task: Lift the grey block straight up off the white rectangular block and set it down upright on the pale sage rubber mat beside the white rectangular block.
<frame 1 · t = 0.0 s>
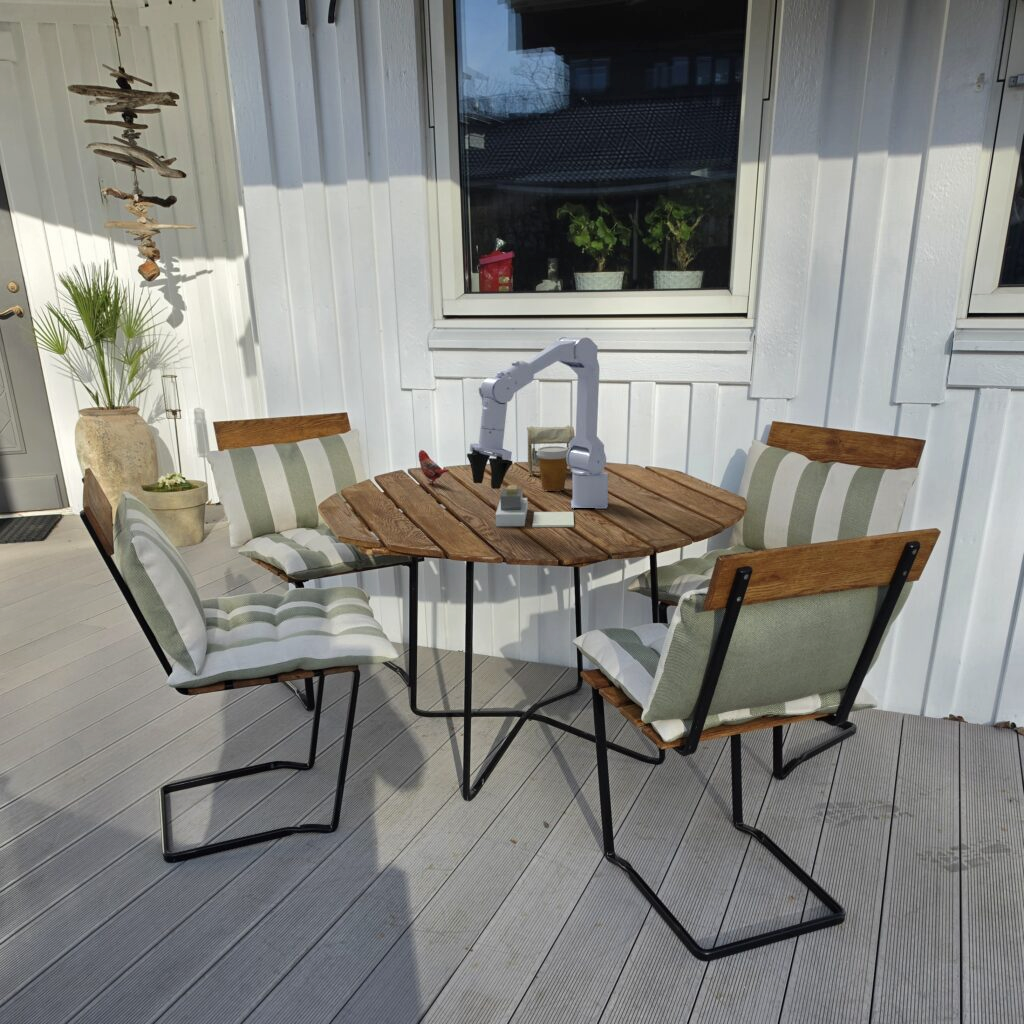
hand: (486, 485, 179), 11 cm above the table, tool pointing down, fingers open, 7 cm apart
swing bench: (551, 473, 240), on the table
disposable coffee cup: (553, 490, 218), on the table
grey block: (511, 505, 190), point 3 cm above the table, touching white rectangular block
white rectangular block: (512, 517, 190), on the table
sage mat: (553, 520, 187), on the table
decorative bird figurine: (434, 486, 227), on the table
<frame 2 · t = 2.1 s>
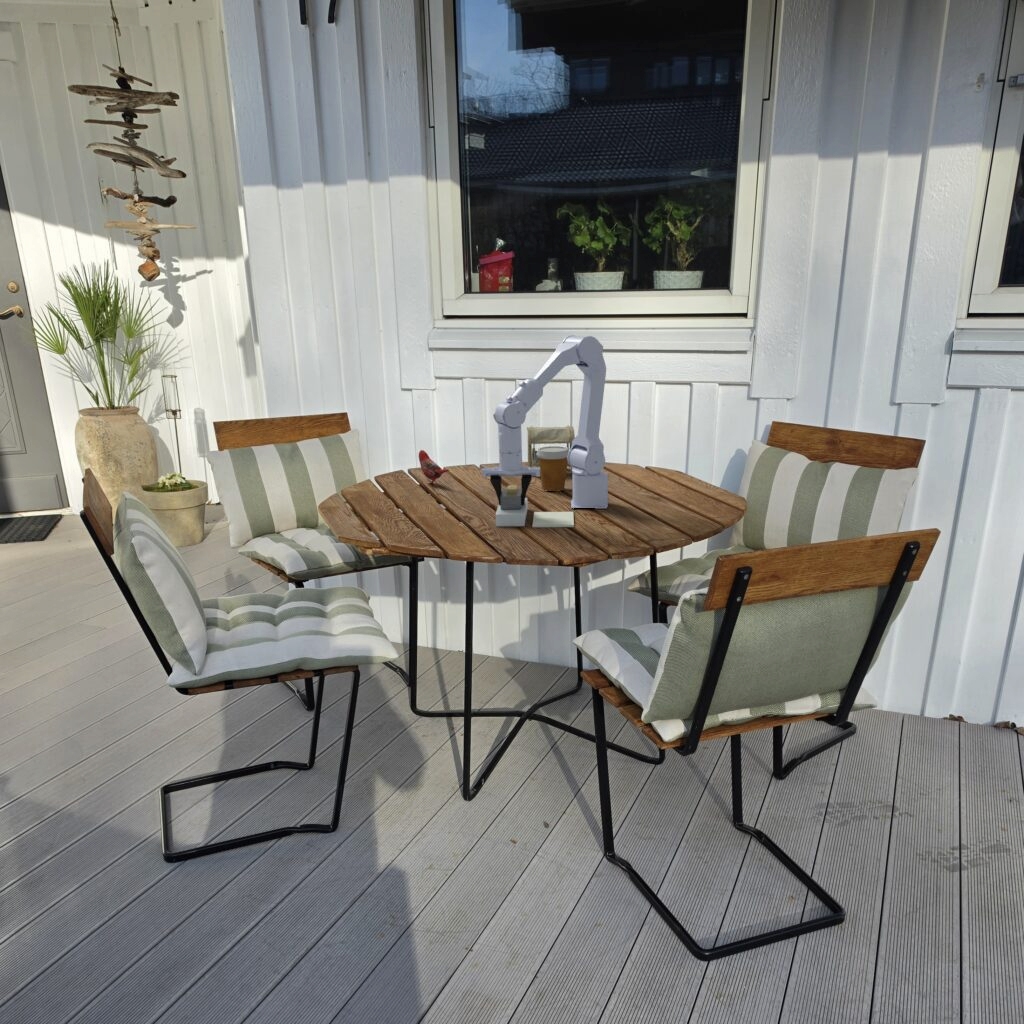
hand: (511, 504, 189), 3 cm above the table, tool pointing down, fingers closed on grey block, 5 cm apart
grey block: (511, 505, 190), point 3 cm above the table, touching gripper, white rectangular block
everything else where it was.
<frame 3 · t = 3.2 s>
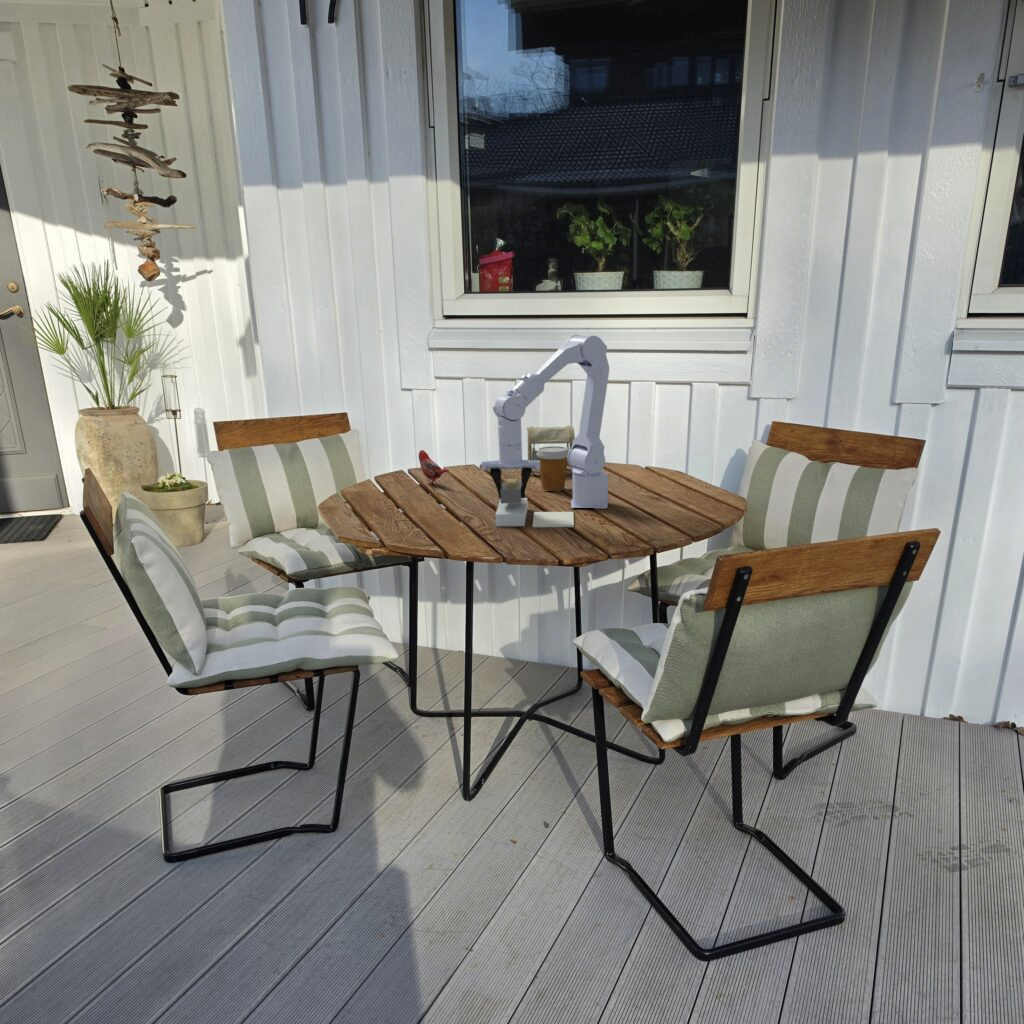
hand: (511, 497, 189), 5 cm above the table, tool pointing down, fingers closed on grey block, 5 cm apart
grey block: (512, 499, 189), point 5 cm above the table, touching gripper
everything else where it was.
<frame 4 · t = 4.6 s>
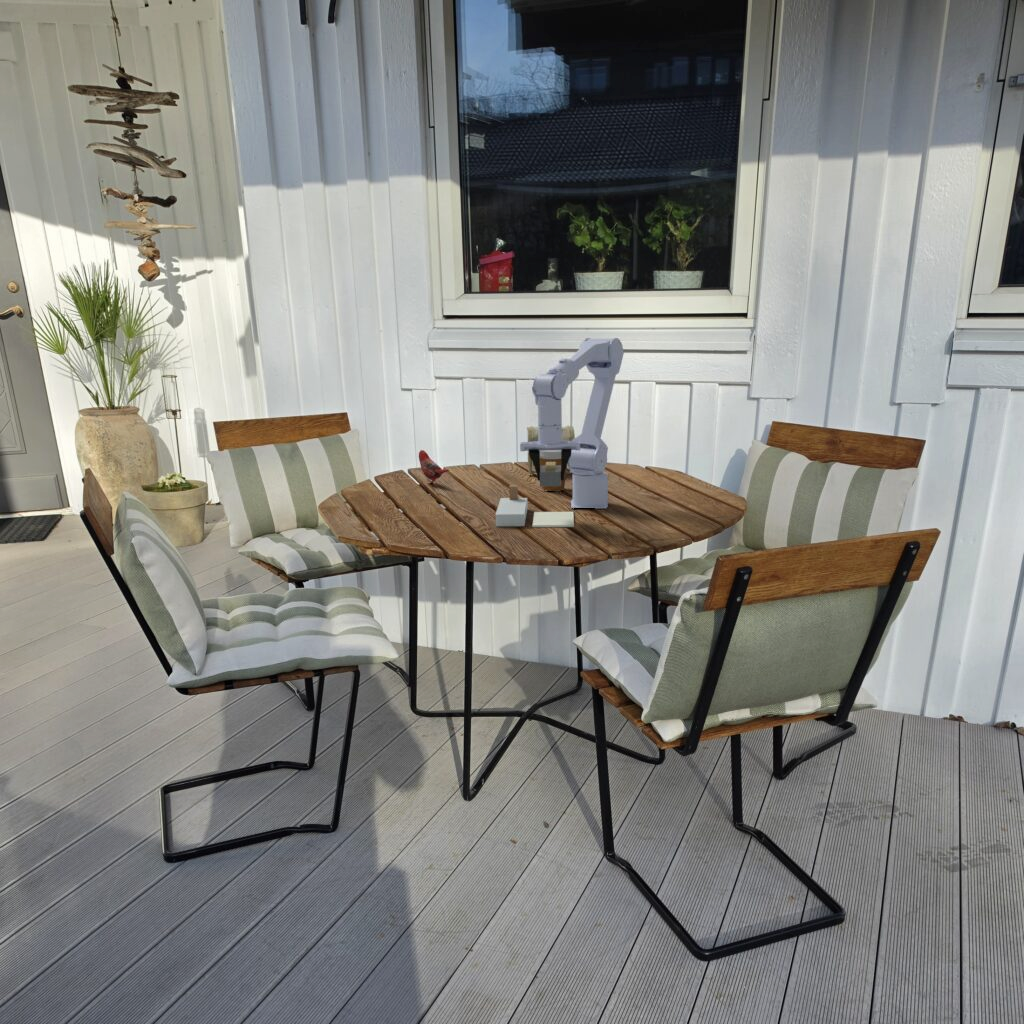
hand: (550, 479, 184), 10 cm above the table, tool pointing down, fingers closed on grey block, 5 cm apart
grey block: (550, 482, 185), point 10 cm above the table, touching gripper
everything else where it was.
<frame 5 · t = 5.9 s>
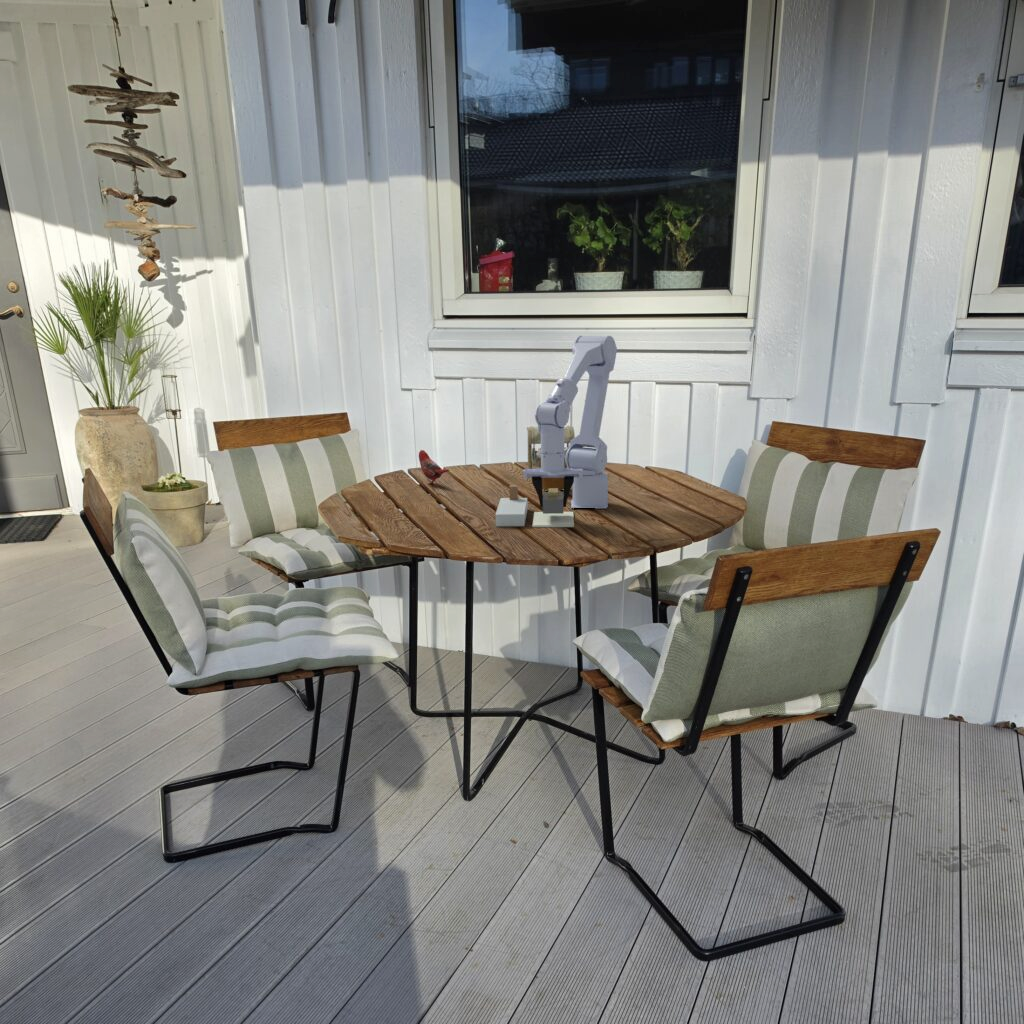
hand: (553, 506, 186), 4 cm above the table, tool pointing down, fingers closed on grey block, 5 cm apart
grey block: (553, 509, 186), point 3 cm above the table, touching gripper
everything else where it was.
when the fingers open (2 cm above the table, at t = 6.8 s): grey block stays where it is, resting on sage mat.
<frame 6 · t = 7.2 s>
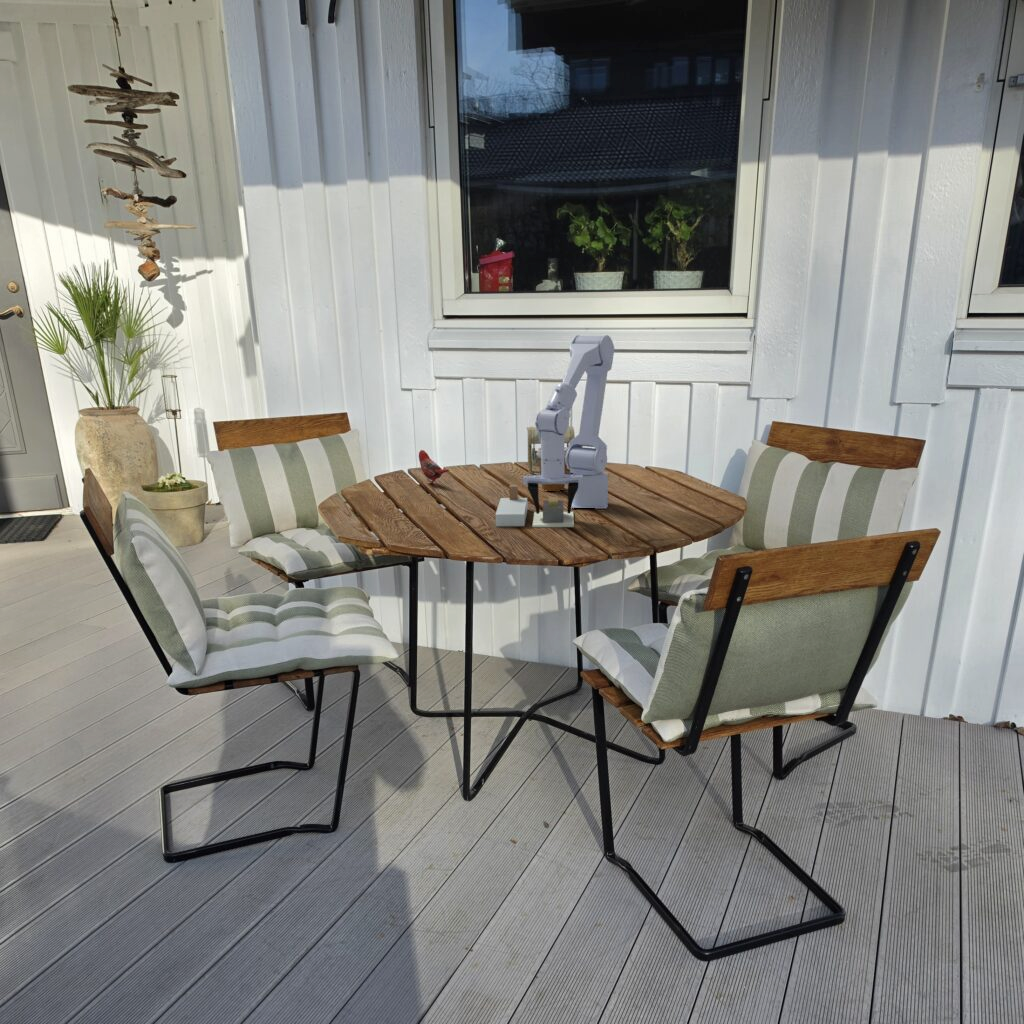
hand: (553, 512, 186), 2 cm above the table, tool pointing down, fingers open, 7 cm apart
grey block: (553, 518, 187), resting on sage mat
everything else where it was.
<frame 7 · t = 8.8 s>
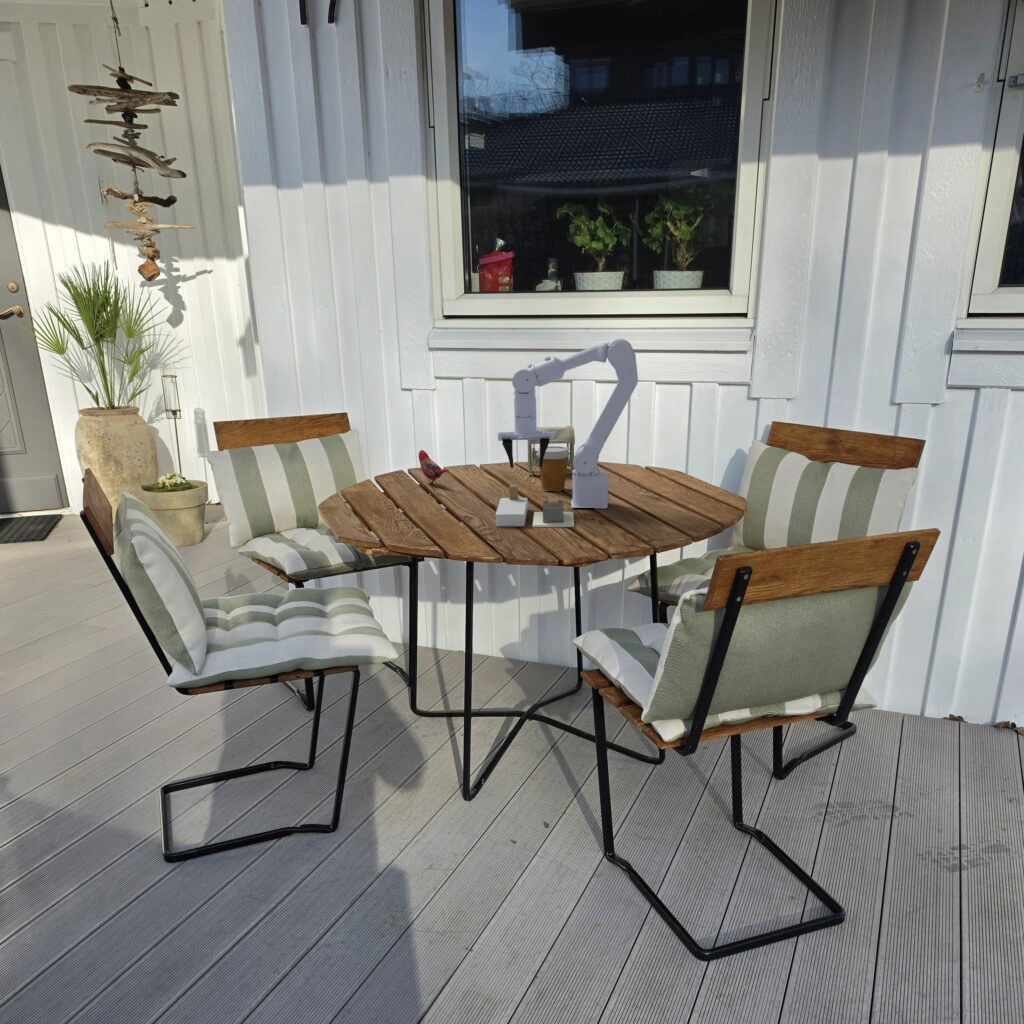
hand: (526, 466, 199), 10 cm above the table, tool pointing down, fingers open, 7 cm apart
nothing on the table moved.
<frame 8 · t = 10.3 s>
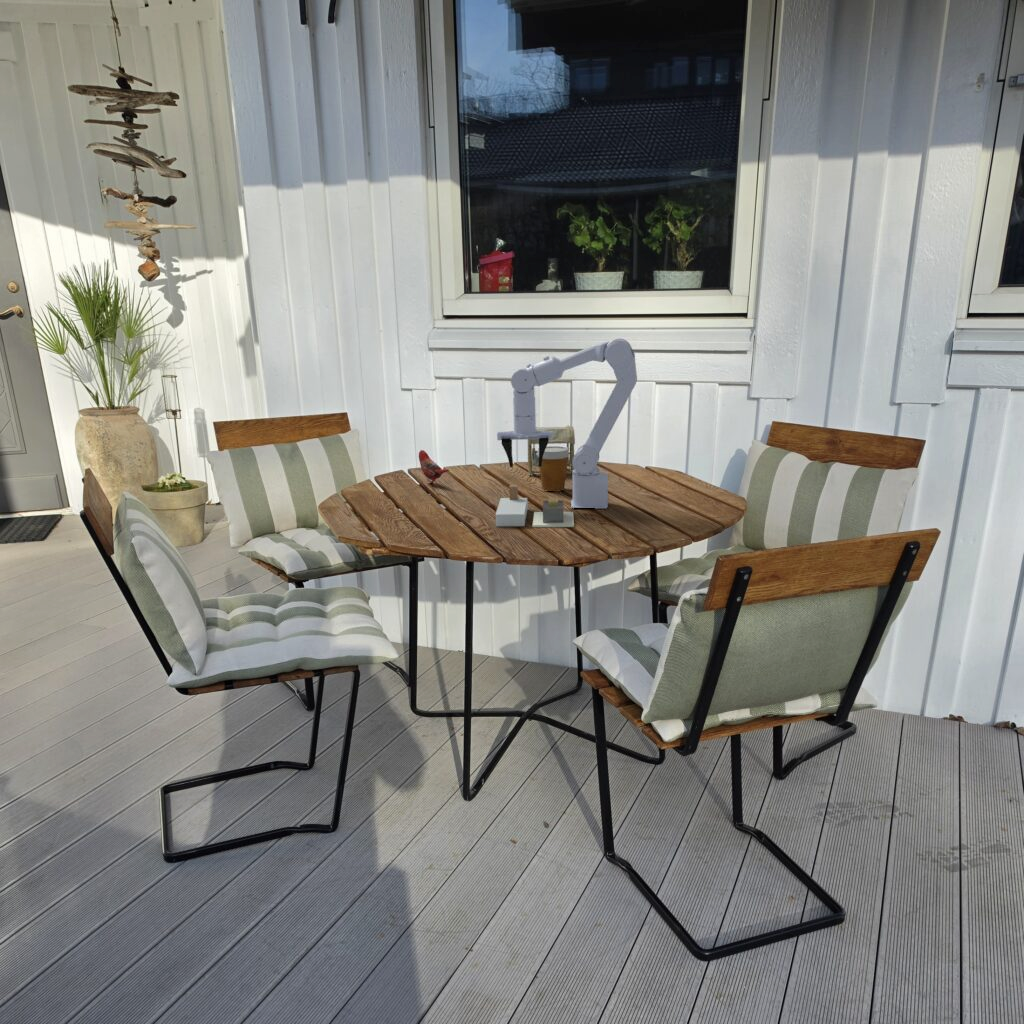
hand: (525, 466, 200), 10 cm above the table, tool pointing down, fingers open, 7 cm apart
nothing on the table moved.
at the end: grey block inside the target area on the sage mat (0.1 cm from its centre), point 0.5 cm above the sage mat's base; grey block tilted 0°; the gripper is holding nothing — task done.
